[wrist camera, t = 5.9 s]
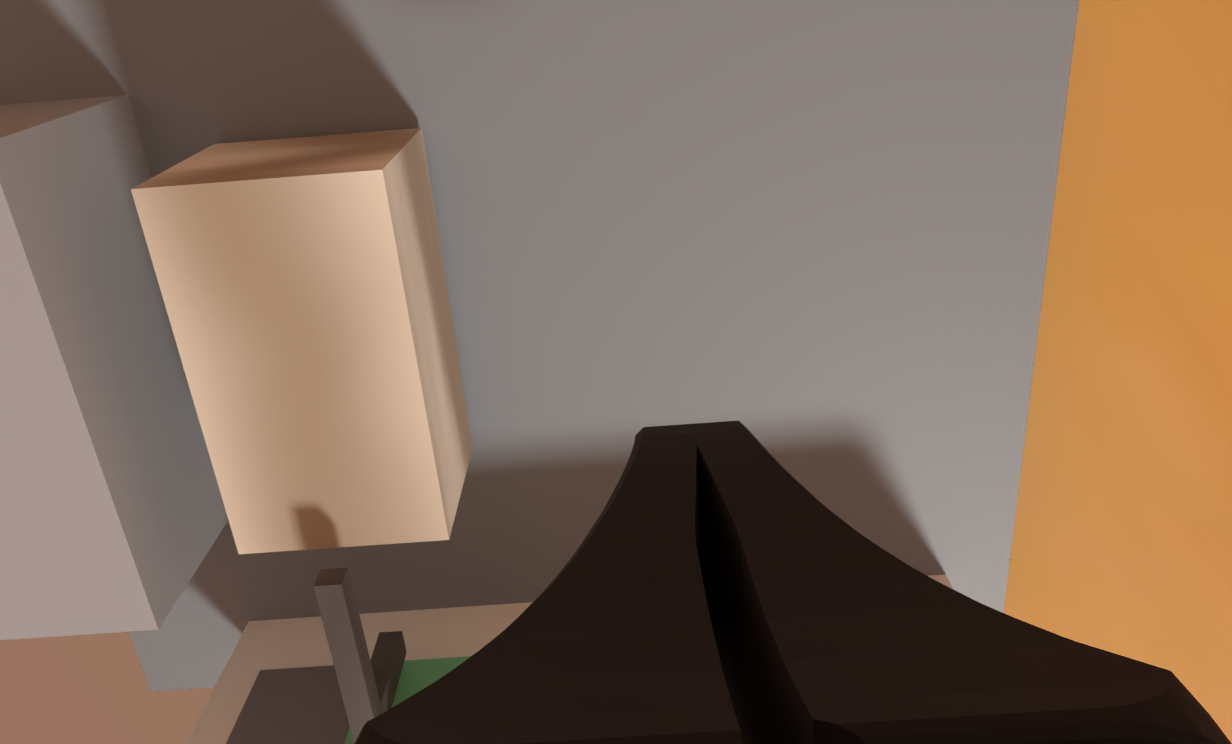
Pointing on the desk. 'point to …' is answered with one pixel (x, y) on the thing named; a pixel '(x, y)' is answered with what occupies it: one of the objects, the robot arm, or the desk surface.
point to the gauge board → (529, 294)
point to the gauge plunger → (318, 357)
